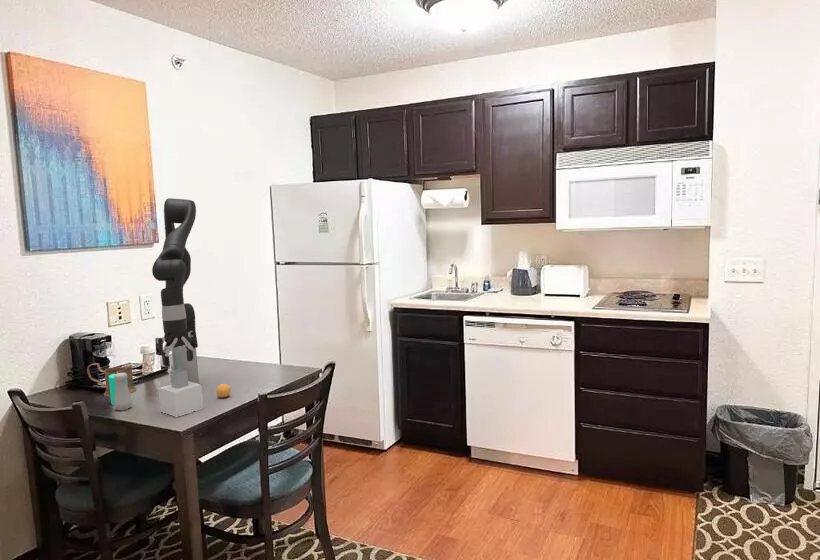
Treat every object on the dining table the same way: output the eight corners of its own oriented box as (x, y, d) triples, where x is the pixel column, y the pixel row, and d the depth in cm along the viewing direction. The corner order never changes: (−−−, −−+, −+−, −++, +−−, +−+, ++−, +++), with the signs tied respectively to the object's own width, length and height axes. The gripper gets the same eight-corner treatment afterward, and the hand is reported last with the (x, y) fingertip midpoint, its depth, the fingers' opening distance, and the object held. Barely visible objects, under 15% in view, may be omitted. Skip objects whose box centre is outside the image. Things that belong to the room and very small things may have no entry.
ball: (215, 399, 209) (214, 386, 208) (218, 395, 214) (217, 382, 213) (229, 398, 210) (228, 385, 209) (232, 394, 215) (231, 381, 214)
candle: (107, 404, 209) (104, 373, 208) (121, 399, 215) (117, 368, 213) (119, 406, 207) (116, 374, 206) (133, 400, 212) (129, 369, 211)
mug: (98, 389, 230) (95, 360, 229) (141, 387, 230) (138, 358, 229) (82, 398, 219) (78, 367, 217) (128, 396, 219) (124, 365, 217)
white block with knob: (176, 417, 191) (172, 376, 190) (160, 412, 197) (156, 372, 196) (203, 408, 199) (200, 369, 198) (187, 404, 206) (183, 365, 204)
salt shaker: (131, 410, 201) (127, 374, 200) (113, 412, 200) (109, 376, 198) (134, 405, 207) (130, 370, 206) (116, 407, 205) (113, 372, 204)
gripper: (160, 322, 187) (165, 370, 189) (199, 314, 198) (203, 360, 200) (148, 320, 191) (153, 367, 193) (186, 313, 203) (191, 358, 204)
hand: (178, 363), depth 197 cm, fingers open, 8 cm apart
